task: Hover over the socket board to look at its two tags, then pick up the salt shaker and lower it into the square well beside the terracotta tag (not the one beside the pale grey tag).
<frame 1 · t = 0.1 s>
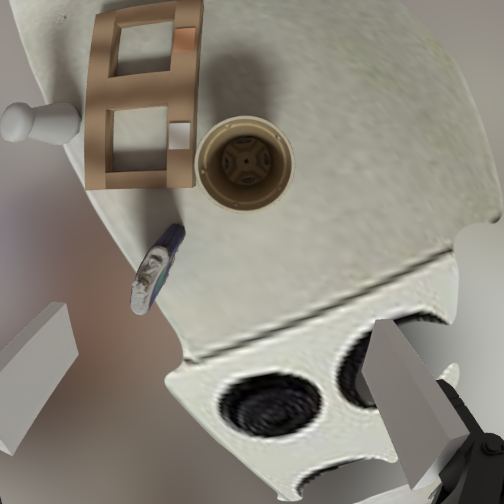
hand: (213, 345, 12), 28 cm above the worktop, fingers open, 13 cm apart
flower pot: (245, 161, 37), on the worktop
salt shaker: (70, 124, 35), on the worktop
flask: (166, 253, 41), on the worktop
socket board: (143, 92, 34), on the worktop
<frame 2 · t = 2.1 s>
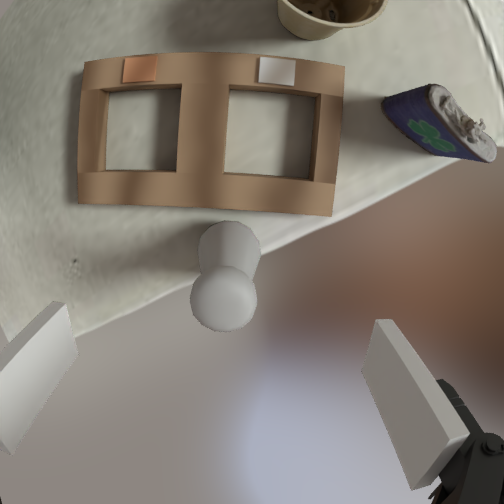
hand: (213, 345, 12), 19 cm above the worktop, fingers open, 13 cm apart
flower pot: (309, 16, 24), on the worktop
salt shaker: (230, 243, 31), on the worktop
flask: (413, 127, 28), on the worktop
socket board: (205, 129, 27), on the worktop
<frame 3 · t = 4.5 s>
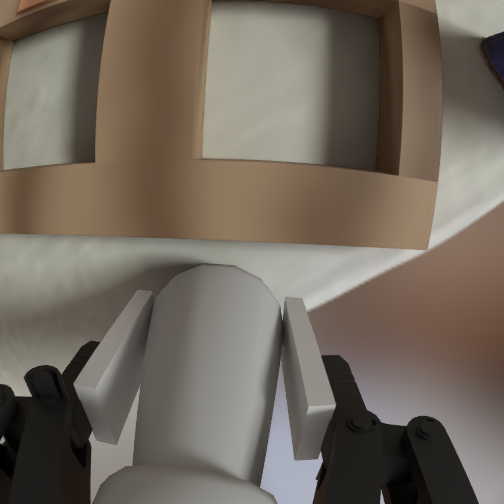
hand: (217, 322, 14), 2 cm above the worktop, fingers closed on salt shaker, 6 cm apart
salt shaker: (221, 300, 16), on the worktop, touching gripper
socket board: (162, 74, 12), on the worktop
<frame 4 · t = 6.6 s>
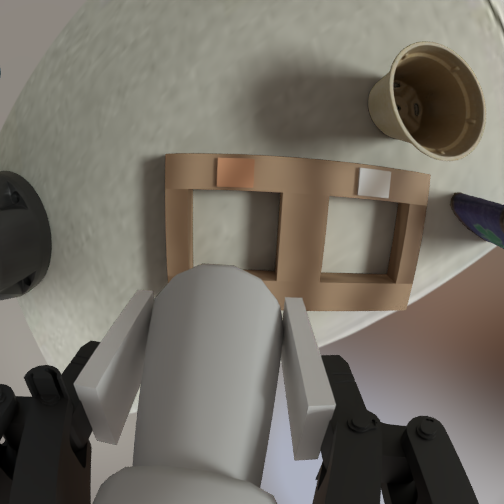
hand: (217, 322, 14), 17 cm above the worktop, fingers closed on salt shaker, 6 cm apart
flower pot: (395, 109, 26), on the worktop
salt shaker: (221, 301, 16), point 15 cm above the worktop, touching gripper
flask: (473, 217, 29), on the worktop
socket board: (298, 232, 30), on the worktop
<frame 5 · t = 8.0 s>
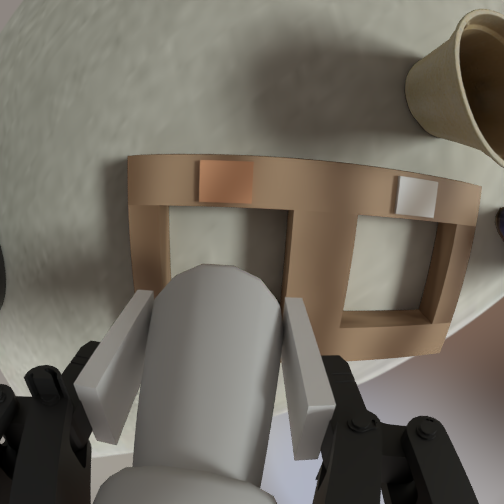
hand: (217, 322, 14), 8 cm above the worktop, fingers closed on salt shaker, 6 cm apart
flower pot: (437, 99, 18), on the worktop
salt shaker: (221, 301, 16), point 6 cm above the worktop, touching gripper
socket board: (312, 260, 22), on the worktop
when the fingers open (4 cm above the worktop, at t = 9.1 s): salt shaker drops 2 cm, resting in socket board.
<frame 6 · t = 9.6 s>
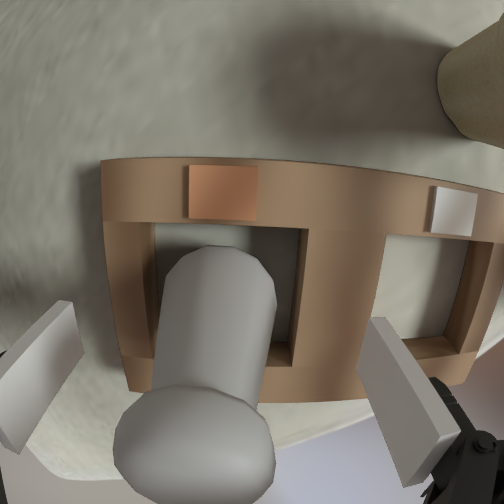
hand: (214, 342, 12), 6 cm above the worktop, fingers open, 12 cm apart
flower pot: (470, 96, 15), on the worktop
salt shaker: (222, 280, 18), resting in socket board
socket board: (327, 286, 18), on the worktop
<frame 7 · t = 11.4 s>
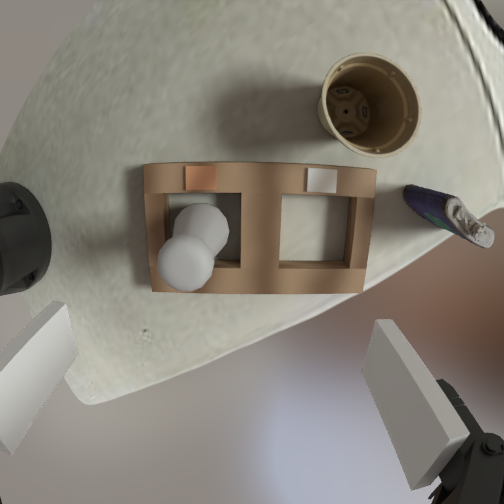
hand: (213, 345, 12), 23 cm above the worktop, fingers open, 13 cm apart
flower pot: (344, 113, 31), on the worktop
salt shaker: (204, 224, 35), resting in socket board
flask: (428, 207, 35), on the worktop
socket board: (259, 226, 35), on the worktop
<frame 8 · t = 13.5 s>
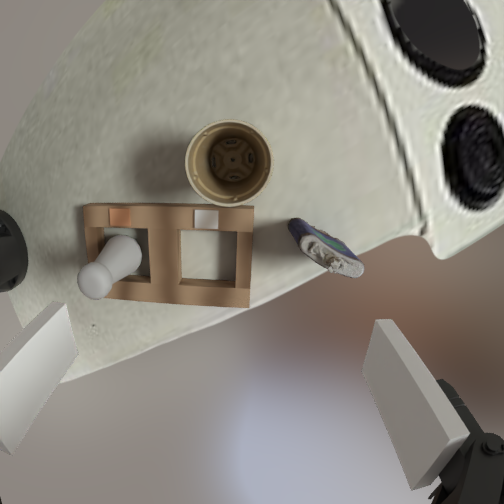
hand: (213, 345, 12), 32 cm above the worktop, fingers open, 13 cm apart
flower pot: (233, 160, 41), on the worktop
salt shaker: (128, 249, 44), resting in socket board
flask: (316, 237, 44), on the worktop
socket board: (167, 251, 44), on the worktop
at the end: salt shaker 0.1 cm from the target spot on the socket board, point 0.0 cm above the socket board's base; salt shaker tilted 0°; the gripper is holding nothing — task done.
